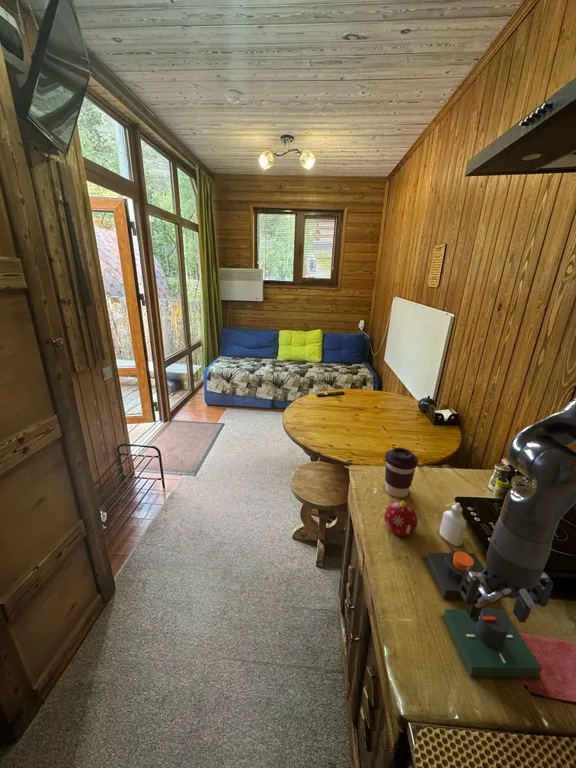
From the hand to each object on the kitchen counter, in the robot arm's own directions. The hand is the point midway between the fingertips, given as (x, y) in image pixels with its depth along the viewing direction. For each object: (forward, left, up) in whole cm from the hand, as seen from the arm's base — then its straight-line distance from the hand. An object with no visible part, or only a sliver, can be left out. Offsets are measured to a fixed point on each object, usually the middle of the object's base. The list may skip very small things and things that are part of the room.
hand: (495, 617), depth 56 cm
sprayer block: (-2, -14, -8) cm, 16 cm away
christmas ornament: (+7, -29, -8) cm, 31 cm away
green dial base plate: (0, 0, -8) cm, 8 cm away
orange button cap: (-2, -14, -4) cm, 15 cm away
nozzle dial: (0, 0, -5) cm, 5 cm away
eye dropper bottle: (-6, -26, -8) cm, 28 cm away
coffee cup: (+2, -46, -8) cm, 47 cm away
